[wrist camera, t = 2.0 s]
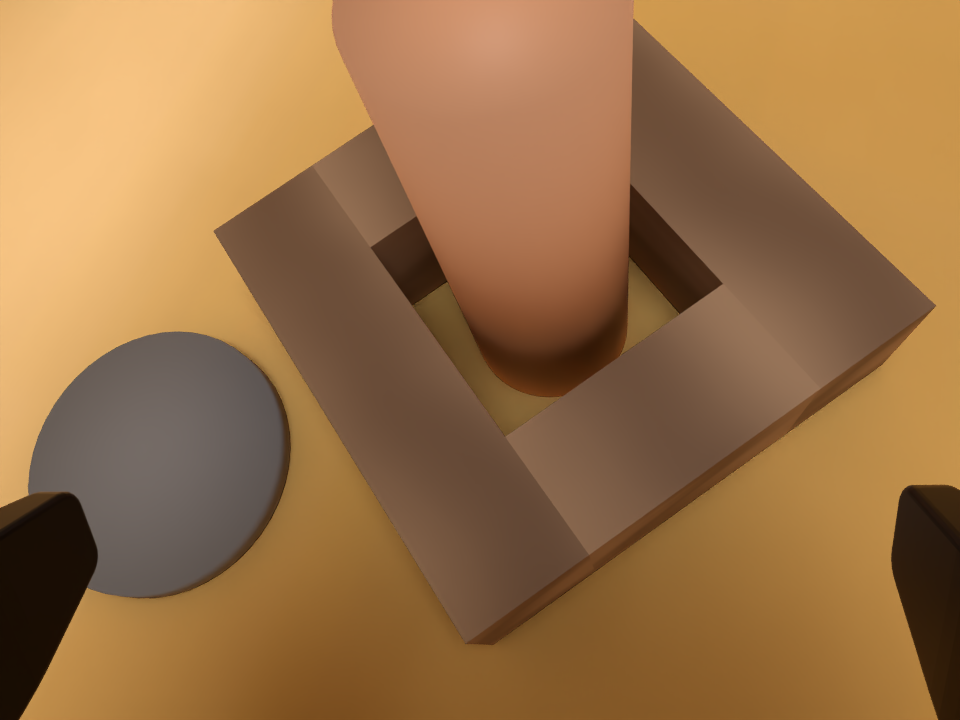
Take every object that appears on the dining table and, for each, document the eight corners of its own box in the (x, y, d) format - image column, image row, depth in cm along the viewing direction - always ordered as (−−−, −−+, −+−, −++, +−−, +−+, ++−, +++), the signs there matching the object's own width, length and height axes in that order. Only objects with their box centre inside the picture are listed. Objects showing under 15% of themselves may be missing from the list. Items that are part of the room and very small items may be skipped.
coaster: (103, 655, 22) (85, 655, 22) (11, 435, 25) (-7, 428, 25) (337, 492, 23) (327, 487, 22) (220, 295, 26) (208, 284, 25)
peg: (532, 426, 23) (432, 174, 11) (449, 312, 24) (281, -17, 12) (659, 338, 23) (700, -6, 11) (568, 231, 25) (516, -169, 13)
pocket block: (493, 644, 21) (465, 643, 17) (272, 291, 26) (213, 231, 22) (882, 364, 22) (936, 305, 18) (596, 73, 26) (592, -21, 23)
